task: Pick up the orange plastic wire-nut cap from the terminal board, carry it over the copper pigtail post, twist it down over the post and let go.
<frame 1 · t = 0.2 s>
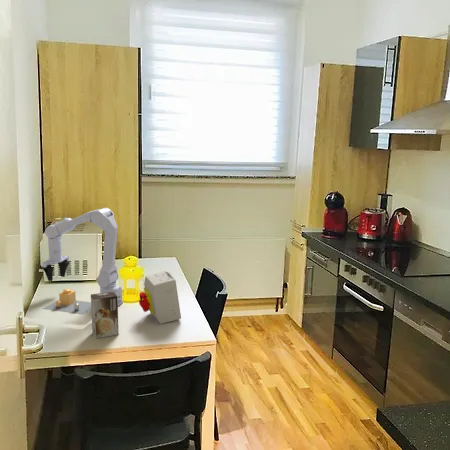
hand: (56, 278, 230), 10 cm above the table, tool pointing down, fingers open, 7 cm apart
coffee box: (105, 334, 194), on the table
electrical switch box: (158, 318, 212), on the table
wire nut cap: (67, 302, 223), point 1 cm above the table, touching terminal board
terminal board: (71, 309, 219), on the table
pigtail posts: (58, 308, 216), resting on terminal board
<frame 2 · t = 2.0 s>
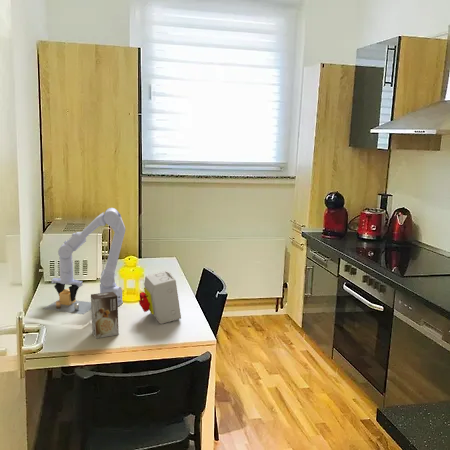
hand: (67, 299, 223), 3 cm above the table, tool pointing down, fingers closed on wire nut cap, 5 cm apart
wire nut cap: (67, 302, 223), point 1 cm above the table, touching gripper, terminal board
everything else where it was.
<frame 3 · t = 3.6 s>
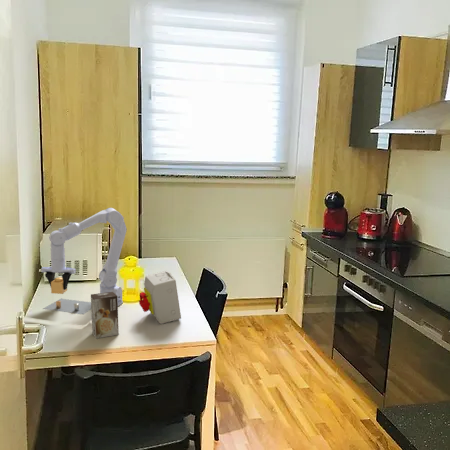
hand: (59, 288, 216), 10 cm above the table, tool pointing down, fingers closed on wire nut cap, 5 cm apart
wire nut cap: (59, 291, 216), point 9 cm above the table, touching gripper
everything else where it was.
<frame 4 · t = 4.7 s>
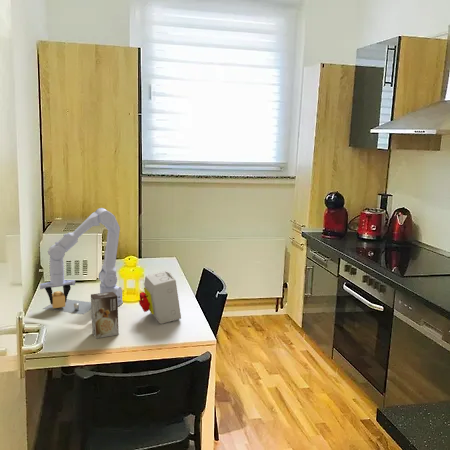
hand: (58, 302, 216), 4 cm above the table, tool pointing down, fingers closed on wire nut cap, 5 cm apart
wire nut cap: (58, 305, 216), point 3 cm above the table, touching gripper
everything else where it was.
when the fingers open (4 cm above the table, at t = 5.6 s): wire nut cap stays where it is, resting on terminal board.
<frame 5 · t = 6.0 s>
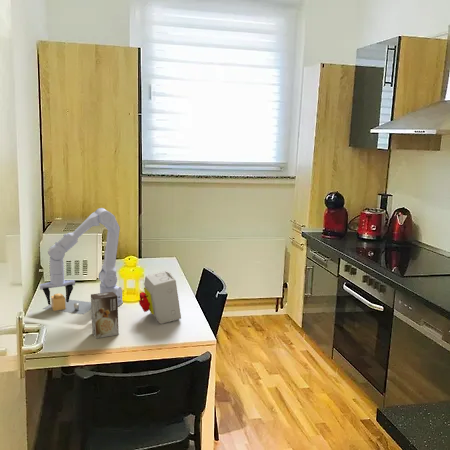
hand: (58, 302, 216), 4 cm above the table, tool pointing down, fingers open, 7 cm apart
wire nut cap: (58, 307, 216), point 1 cm above the table, touching terminal board
everything else where it was.
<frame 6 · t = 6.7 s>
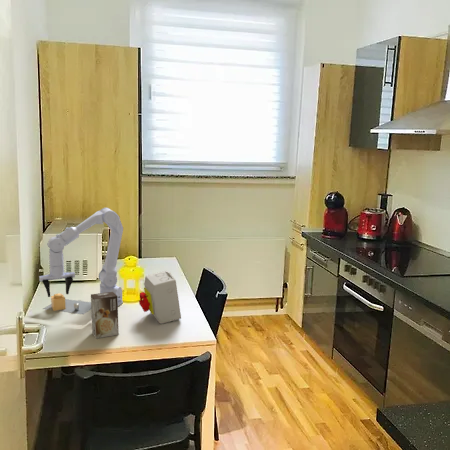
hand: (58, 295, 215), 7 cm above the table, tool pointing down, fingers open, 7 cm apart
nothing on the table moved.
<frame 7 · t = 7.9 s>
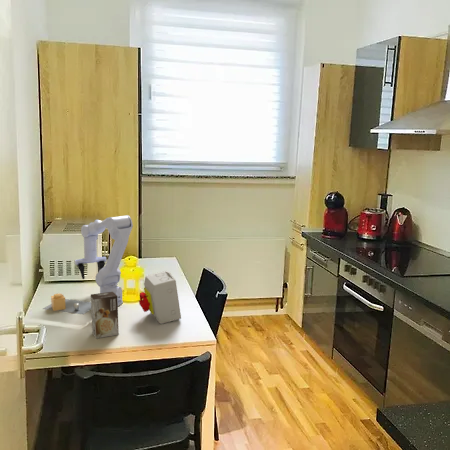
hand: (91, 277, 234), 9 cm above the table, tool pointing down, fingers open, 7 cm apart
nothing on the table moved.
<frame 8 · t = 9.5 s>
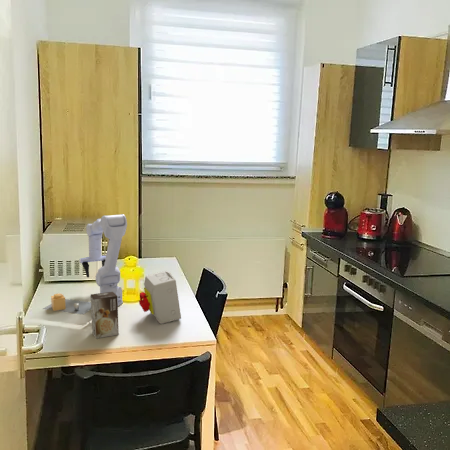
hand: (95, 275, 237), 9 cm above the table, tool pointing down, fingers open, 7 cm apart
nothing on the table moved.
at the end: wire nut cap 0.1 cm off-centre on the pigtail posts, point 0.0 cm above the pigtail posts's base; wire nut cap tilted 0°; the gripper is holding nothing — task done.
